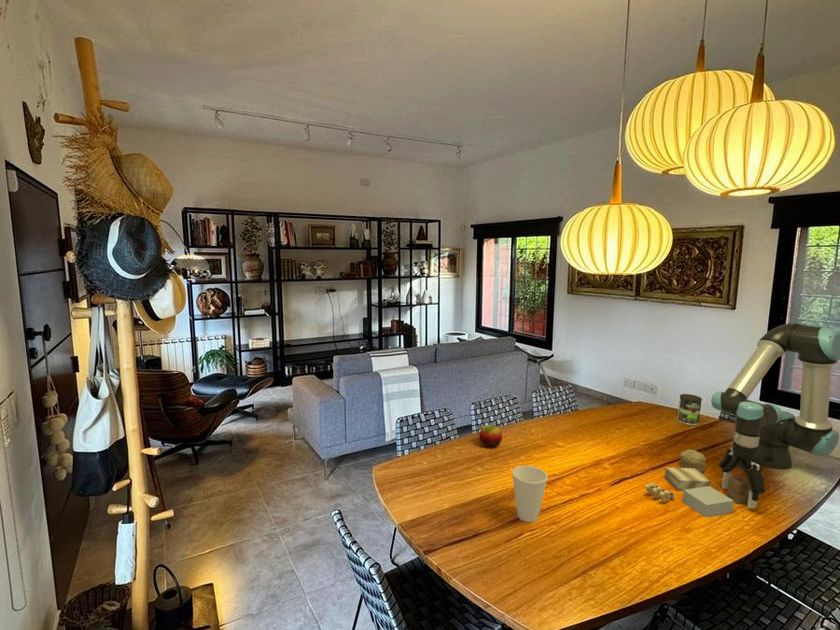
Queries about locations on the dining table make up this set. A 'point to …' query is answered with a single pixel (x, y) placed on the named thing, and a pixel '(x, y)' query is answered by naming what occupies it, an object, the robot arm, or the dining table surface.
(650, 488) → the ammunition
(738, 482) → the walnut block
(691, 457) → the coral
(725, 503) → the grey painted block
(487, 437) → the fruit
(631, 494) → the dining table surface
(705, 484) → the pale oak block
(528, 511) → the cup
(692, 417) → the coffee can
